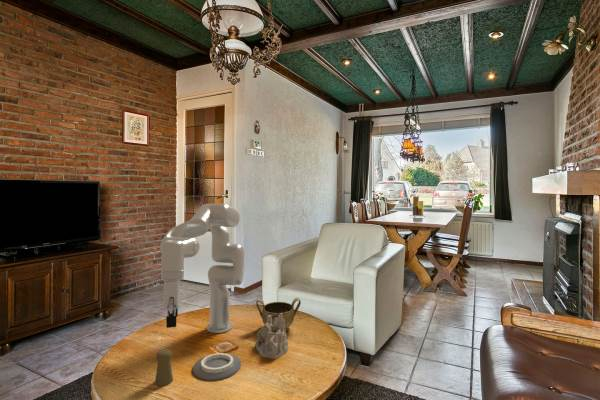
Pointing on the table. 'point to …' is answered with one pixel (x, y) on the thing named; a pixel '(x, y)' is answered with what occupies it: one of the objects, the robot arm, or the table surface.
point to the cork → (164, 368)
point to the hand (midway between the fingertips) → (172, 321)
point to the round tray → (216, 366)
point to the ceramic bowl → (279, 311)
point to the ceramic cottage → (272, 338)
